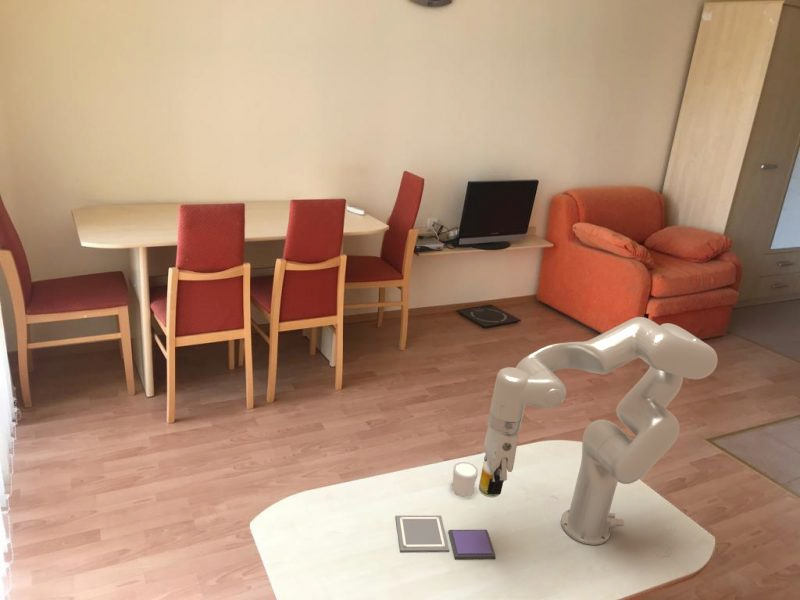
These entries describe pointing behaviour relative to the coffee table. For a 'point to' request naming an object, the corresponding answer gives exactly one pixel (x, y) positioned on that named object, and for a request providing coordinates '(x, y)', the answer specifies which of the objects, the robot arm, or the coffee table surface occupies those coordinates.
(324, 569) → the coffee table surface
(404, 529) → the grey square tile
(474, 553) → the ink pad
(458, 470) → the white short cylinder
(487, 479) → the supplement bottle
